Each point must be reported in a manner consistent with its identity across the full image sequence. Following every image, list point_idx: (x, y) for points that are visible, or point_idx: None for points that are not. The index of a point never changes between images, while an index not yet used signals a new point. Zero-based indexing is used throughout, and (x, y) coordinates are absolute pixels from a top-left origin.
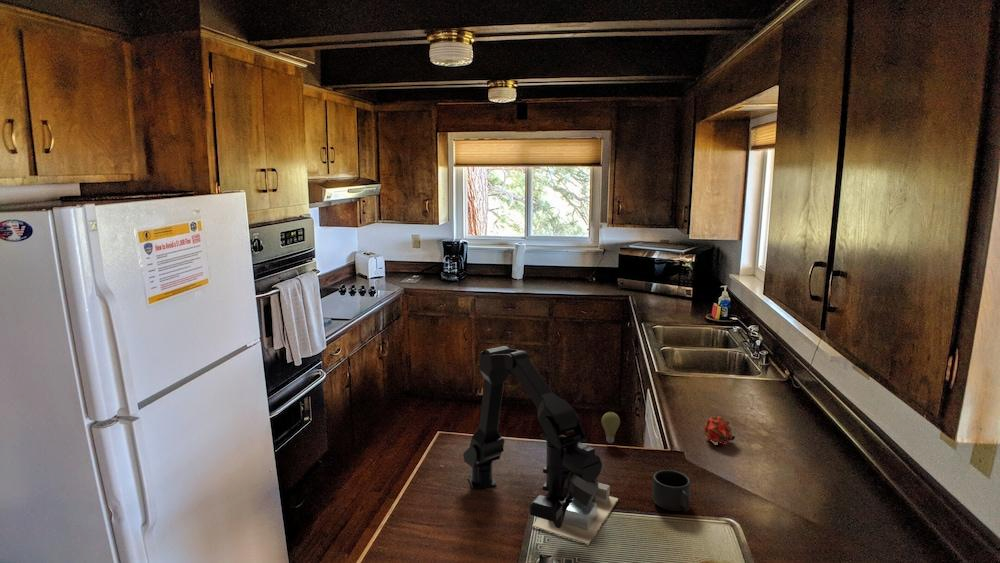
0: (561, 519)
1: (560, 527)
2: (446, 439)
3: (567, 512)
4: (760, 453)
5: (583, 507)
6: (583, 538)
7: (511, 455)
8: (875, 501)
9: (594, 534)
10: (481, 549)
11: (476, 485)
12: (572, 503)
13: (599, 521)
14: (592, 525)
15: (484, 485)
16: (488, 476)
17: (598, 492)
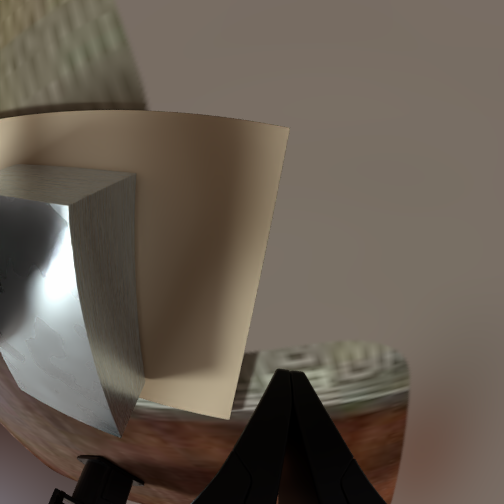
0: (330, 437)
1: (299, 373)
2: (61, 473)
3: (105, 351)
4: None
5: (11, 265)
6: (242, 176)
7: (7, 413)
8: None
9: (164, 112)
10: (381, 460)
11: (133, 482)
12: (27, 336)
13: (39, 132)
14: (82, 156)
15: (125, 478)
16: (111, 490)
17: None
